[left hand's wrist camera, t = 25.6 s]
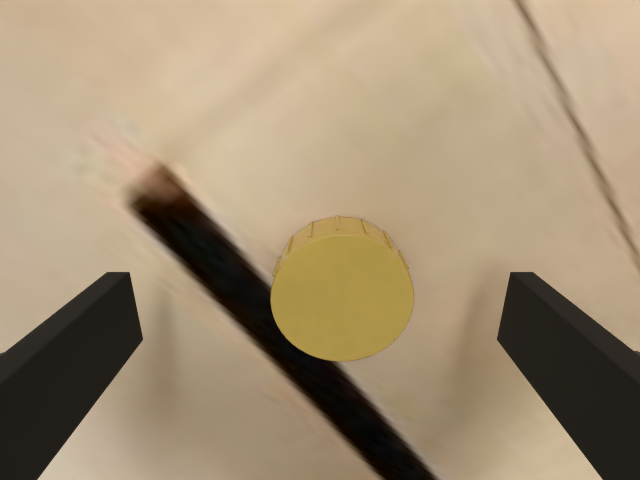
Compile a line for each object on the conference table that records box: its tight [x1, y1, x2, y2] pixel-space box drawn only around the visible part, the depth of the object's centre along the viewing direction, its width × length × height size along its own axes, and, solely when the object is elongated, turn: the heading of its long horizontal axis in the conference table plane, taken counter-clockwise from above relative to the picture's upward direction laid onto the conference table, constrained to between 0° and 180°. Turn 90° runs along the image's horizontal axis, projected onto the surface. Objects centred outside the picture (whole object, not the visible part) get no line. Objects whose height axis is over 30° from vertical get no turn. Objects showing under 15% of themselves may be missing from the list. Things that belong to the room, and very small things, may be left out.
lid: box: [271, 216, 414, 361], centre depth 14 cm, size 5×5×2 cm
